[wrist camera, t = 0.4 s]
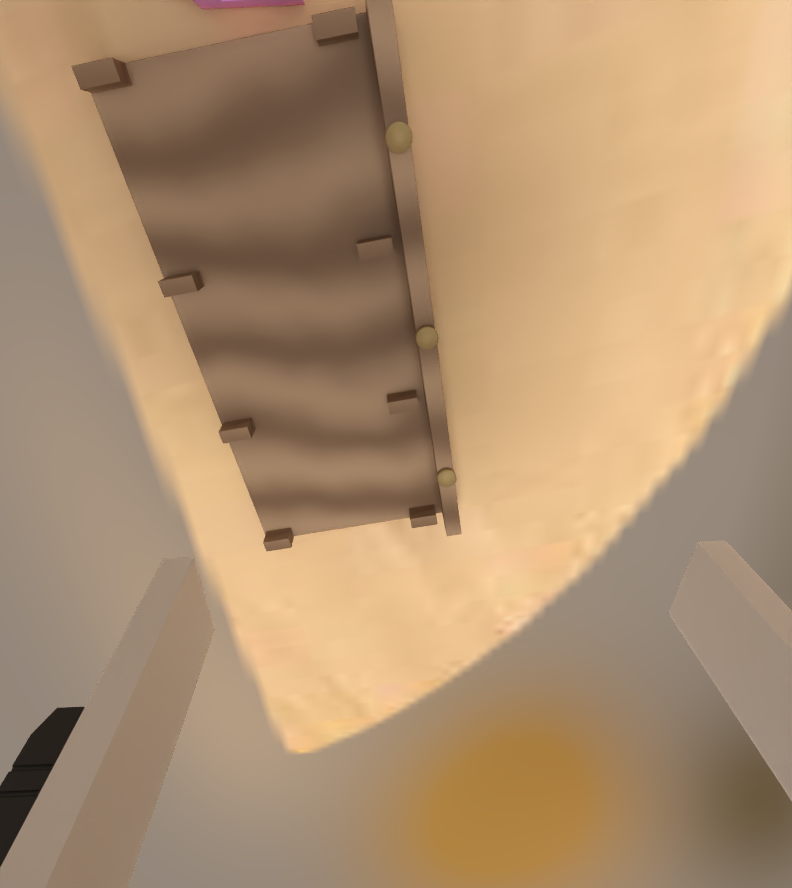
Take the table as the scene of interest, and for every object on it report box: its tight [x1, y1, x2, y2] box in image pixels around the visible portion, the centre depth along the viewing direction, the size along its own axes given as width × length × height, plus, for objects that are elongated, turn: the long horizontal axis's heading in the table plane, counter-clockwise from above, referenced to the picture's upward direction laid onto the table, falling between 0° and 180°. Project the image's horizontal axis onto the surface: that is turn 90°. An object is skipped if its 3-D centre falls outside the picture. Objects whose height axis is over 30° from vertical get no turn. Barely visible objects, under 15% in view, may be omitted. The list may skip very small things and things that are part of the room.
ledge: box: [72, 0, 461, 551], centre depth 33 cm, size 34×17×5 cm, turn 10°
